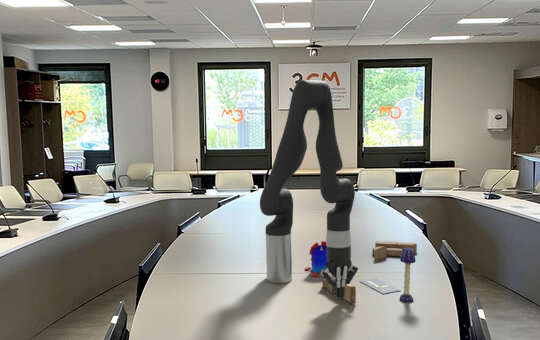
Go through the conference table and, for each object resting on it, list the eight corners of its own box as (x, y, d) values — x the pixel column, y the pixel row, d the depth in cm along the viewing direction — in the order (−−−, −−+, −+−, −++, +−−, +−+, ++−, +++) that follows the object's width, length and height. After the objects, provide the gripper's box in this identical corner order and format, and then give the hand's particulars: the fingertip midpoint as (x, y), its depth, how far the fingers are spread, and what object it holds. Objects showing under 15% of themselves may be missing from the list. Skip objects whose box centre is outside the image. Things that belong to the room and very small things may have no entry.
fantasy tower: (312, 278, 176) (312, 246, 175) (302, 269, 187) (301, 239, 186) (342, 275, 179) (342, 243, 178) (330, 266, 190) (329, 236, 189)
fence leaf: (331, 291, 160) (331, 276, 160) (335, 290, 161) (335, 275, 160) (352, 304, 149) (352, 287, 148) (356, 303, 149) (356, 287, 149)
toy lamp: (412, 297, 154) (412, 246, 153) (417, 302, 150) (417, 250, 148) (397, 297, 154) (397, 247, 153) (402, 303, 150) (402, 250, 148)
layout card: (359, 281, 171) (359, 280, 171) (376, 278, 173) (376, 277, 173) (383, 294, 158) (383, 293, 158) (400, 290, 160) (400, 289, 160)
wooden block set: (373, 238, 211) (416, 240, 206) (373, 250, 212) (416, 252, 207) (371, 248, 195) (417, 250, 190) (371, 261, 195) (417, 264, 191)
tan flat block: (321, 286, 167) (321, 269, 166) (325, 285, 167) (325, 268, 167) (331, 292, 161) (331, 274, 160) (335, 291, 161) (335, 274, 161)
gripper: (350, 238, 154) (351, 290, 156) (313, 243, 149) (314, 297, 151) (363, 243, 147) (364, 298, 149) (325, 249, 142) (326, 305, 144)
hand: (339, 297), depth 150 cm, fingers closed
